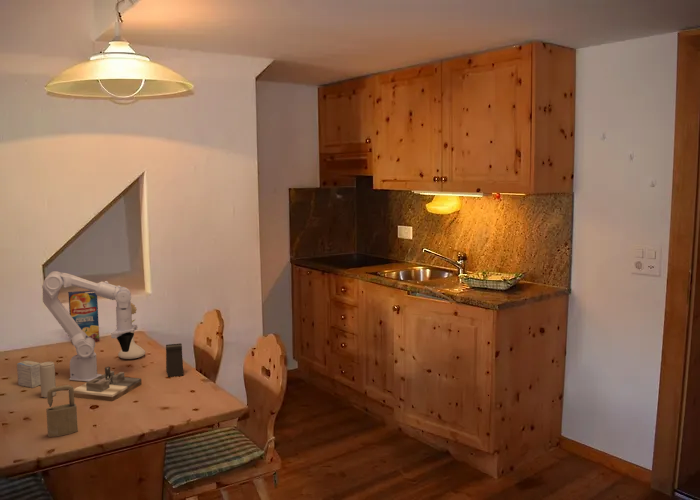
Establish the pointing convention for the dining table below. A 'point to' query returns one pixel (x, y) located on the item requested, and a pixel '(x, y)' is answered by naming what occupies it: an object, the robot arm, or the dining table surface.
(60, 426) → the padlock
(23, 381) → the grey upright block
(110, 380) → the bolt
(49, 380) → the beige cylinder
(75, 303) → the juice carton
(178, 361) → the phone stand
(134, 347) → the flower in vase
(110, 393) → the door and jamb
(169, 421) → the dining table surface
